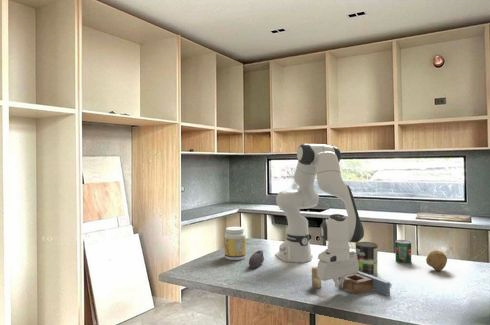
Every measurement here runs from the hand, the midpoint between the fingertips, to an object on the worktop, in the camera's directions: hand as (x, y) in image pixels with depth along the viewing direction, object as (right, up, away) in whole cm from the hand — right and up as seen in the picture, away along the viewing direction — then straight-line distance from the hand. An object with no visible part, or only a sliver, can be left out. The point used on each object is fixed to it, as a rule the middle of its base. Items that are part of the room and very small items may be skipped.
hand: (338, 287), depth 146 cm
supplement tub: (-45, -3, +54) cm, 71 cm away
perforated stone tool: (-34, -3, +38) cm, 51 cm away
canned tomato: (+46, -2, +42) cm, 63 cm away
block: (+8, -2, +5) cm, 10 cm away
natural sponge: (+55, -2, +27) cm, 62 cm away
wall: (+14, -2, +8) cm, 16 cm away
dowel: (-8, -2, +7) cm, 11 cm away
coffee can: (+20, -2, +25) cm, 32 cm away
